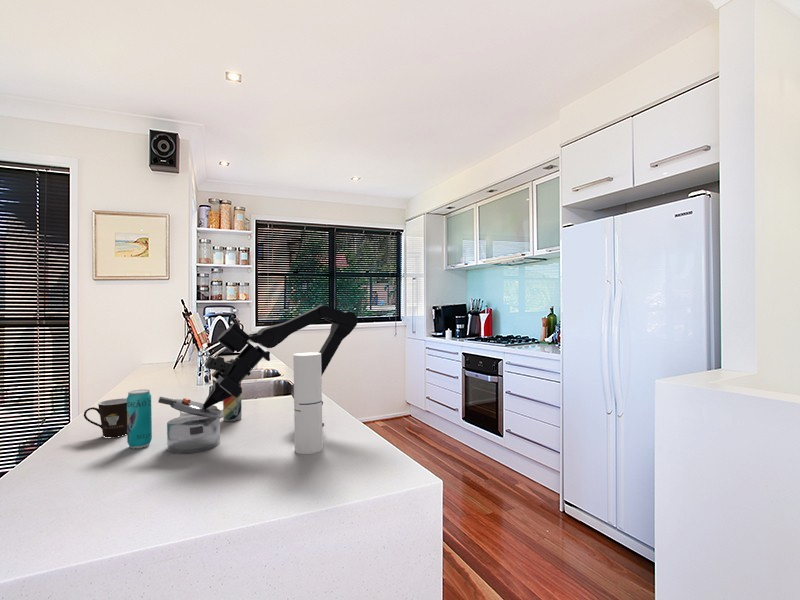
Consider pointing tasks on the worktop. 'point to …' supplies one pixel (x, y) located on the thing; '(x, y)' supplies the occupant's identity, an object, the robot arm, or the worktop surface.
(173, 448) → the pot
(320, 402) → the cylindrical container
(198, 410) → the lid
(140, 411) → the beverage can
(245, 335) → the robot arm
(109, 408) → the coffee mug
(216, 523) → the worktop surface
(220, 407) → the roll of tape
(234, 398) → the lotion bottle
